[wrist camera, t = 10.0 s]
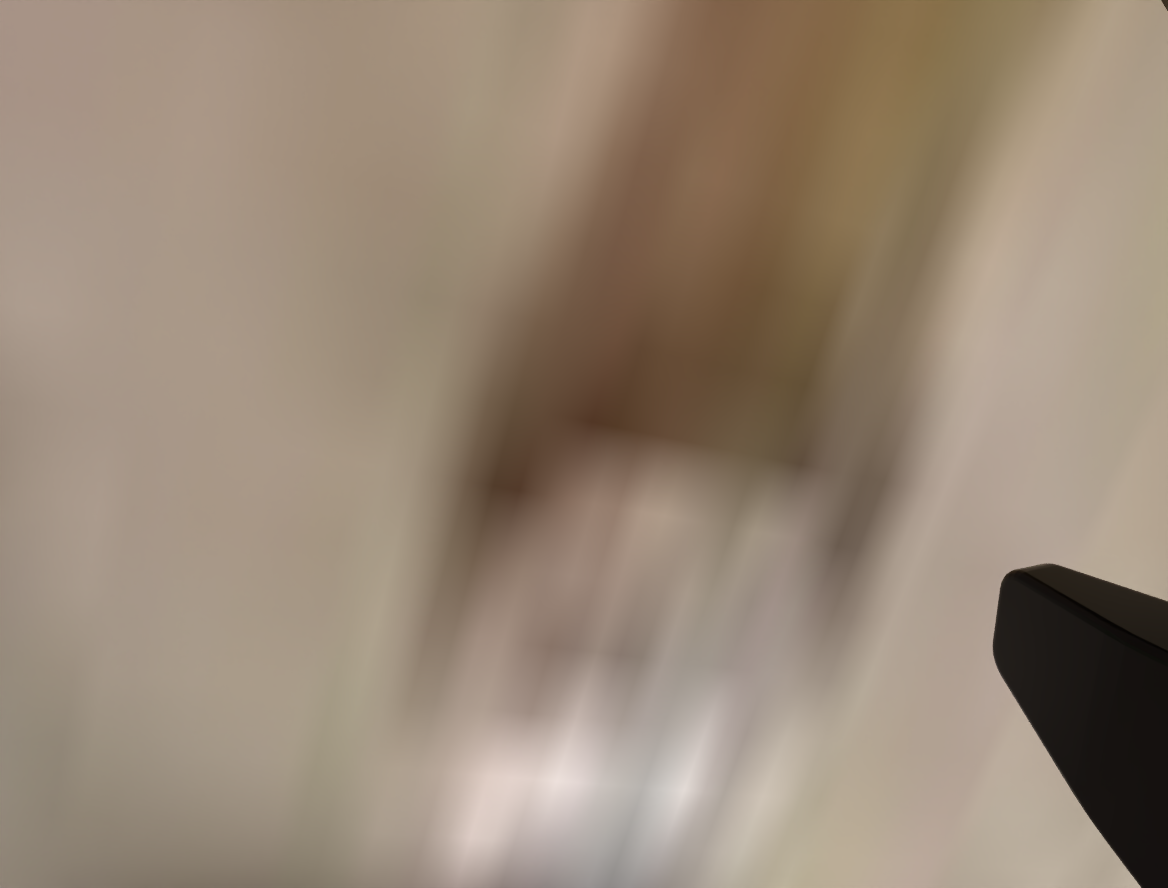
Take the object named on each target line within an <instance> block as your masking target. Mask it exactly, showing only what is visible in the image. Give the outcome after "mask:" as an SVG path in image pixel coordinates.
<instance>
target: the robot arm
mask: <svg viewBox="0 0 1168 888" xmlns="http://www.w3.org/2000/svg"><path fill="white" fill-rule="evenodd" d="M1162 2H1163V4H1164V6H1165V7H1166V9H1167V11H1168V0H1162ZM993 655H994V659H995V663H996V666H997V668H998V670H999V672H1000V674H1001V676H1002V678H1003V679H1004V681H1005V683H1006V684H1007V686H1008V688H1009V689H1010V691H1011V692H1012V694H1013V696H1014V697H1015V699H1016V701H1017V702H1018V704H1019V706H1020V707H1021V709H1022V710H1023V712H1024V714H1025V715H1026V717H1027V719H1028V720H1029V722H1030V723H1031V725H1032V727H1033V728H1034V730H1035V732H1036V733H1037V735H1038V736H1039V738H1040V740H1041V741H1042V743H1043V745H1044V746H1045V748H1046V750H1047V751H1048V753H1049V754H1050V756H1051V758H1052V759H1053V761H1054V763H1055V764H1056V766H1057V767H1058V769H1059V771H1060V772H1061V774H1062V776H1063V777H1064V779H1065V781H1066V782H1067V784H1068V785H1069V787H1070V789H1071V790H1072V792H1073V793H1074V795H1075V797H1076V798H1077V800H1078V801H1079V803H1080V804H1081V806H1082V807H1083V809H1084V810H1085V812H1086V813H1087V815H1088V816H1089V818H1090V819H1091V821H1092V822H1093V823H1094V825H1095V826H1096V828H1097V829H1098V830H1099V832H1100V833H1101V834H1102V836H1103V837H1104V839H1105V840H1106V841H1107V843H1108V844H1109V845H1110V847H1111V848H1112V849H1113V851H1114V852H1115V853H1116V855H1117V856H1118V857H1119V859H1120V860H1121V861H1122V863H1123V864H1124V865H1125V867H1126V868H1127V869H1128V871H1129V872H1130V873H1131V875H1132V876H1133V877H1134V878H1135V880H1136V881H1137V882H1138V884H1139V885H1140V886H1141V888H1168V601H1165V600H1162V599H1159V598H1156V597H1153V596H1150V595H1147V594H1144V593H1141V592H1138V591H1135V590H1132V589H1129V588H1126V587H1123V586H1120V585H1117V584H1114V583H1111V582H1108V581H1105V580H1102V579H1099V578H1096V577H1093V576H1090V575H1087V574H1084V573H1080V572H1077V571H1074V570H1071V569H1068V568H1065V567H1062V566H1059V565H1056V564H1040V565H1035V566H1031V567H1026V568H1021V569H1016V570H1013V571H1011V572H1009V573H1008V574H1006V576H1005V577H1004V579H1003V581H1002V583H1001V587H1000V594H999V601H998V609H997V616H996V623H995V631H994V638H993Z"/></svg>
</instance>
